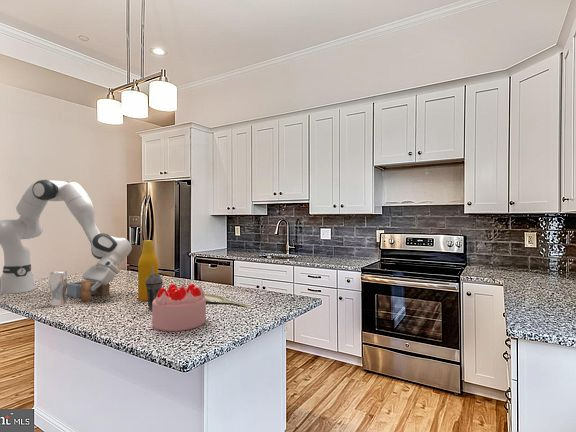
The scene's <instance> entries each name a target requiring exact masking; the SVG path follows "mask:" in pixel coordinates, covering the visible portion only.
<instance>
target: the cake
mask: <svg viewBox="0 0 576 432" xmlns="http://www.w3.org/2000/svg"><path fill="white" fill-rule="evenodd" d="M205 294H206V293H205V291H204V290H203V289H202V285H201V284H200V285H199V286H198V287H197V286H195V284H194V283H190V284H189V285H188V286H187V287H186V286H185V285H184V284H182V283H181V287H179V288H178V287H177V285H176V284H175V283H171V284H170V285H169V287H168V288H167V289H166V288H165V286H163V285H162V288H161V289H160V290H159V291H158V293H157V297H156V298H155V299H154V300H153V302H152V310H151V311H152V313H151V315H152V320H151V322H152V327H153V328H154V329H155V330H158V331H162V332H183V331H188V330H192V329H196V328H199V327H201V326H202V325H204V324H205V323H206V319H207V313H206V312H207V310H206V309H207V306H206V305H207V302H206V298H205V297H204V296H205Z"/></svg>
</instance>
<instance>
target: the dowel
mask: <svg viewBox="0 0 576 432" xmlns="http://www.w3.org/2000/svg"><path fill="white" fill-rule="evenodd" d="M80 282H81V297H80V303H88V302H89V303H90V302H91V301H92V298H91V297H92V295H91V290H90V288H91V280H84V279H83V280H81V281H80Z"/></svg>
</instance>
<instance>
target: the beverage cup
mask: <svg viewBox="0 0 576 432" xmlns="http://www.w3.org/2000/svg"><path fill="white" fill-rule="evenodd" d="M152 273H153V274H151V275H149V276H148V277H147V279H146V283H145V284H146V288H147V296H148V301H147V305H148V310H150V311H152V302H153V300H154V299H155V298H156V297H157V293H158V291H159V290H160V289H161V288H162V287H163V283H164V282H163V278H162V275H160V274H159V273H158V274H154V270H153V264H152Z"/></svg>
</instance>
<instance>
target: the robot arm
mask: <svg viewBox="0 0 576 432" xmlns="http://www.w3.org/2000/svg"><path fill="white" fill-rule="evenodd" d="M63 201H64V203H65V204H66V207H67V208H68V210H69V211H70V213H71V214H72V215H73V217H74V218H75V219H76V221H77V223H79V225H80V226H81V228H82V230H83V232H84V233H85V235H86V237H87V239H88V241H89V242H90V245H91V249H90V250H91V255H92V256H93V257H94V258H95V259H97V260H98V261H97V263H96V264H95V265H93V266H91V267H89V268H88V269H87V270H86V271H85V272H84V273H83V274H82V279H83V280H91V282H95V283H96V284H95V285H93V286H91V288H90V290H92V291H94V290H95V289H96V288H98V287H99V286H101V284H104V285H107V284H108V283H109V284H110V283H111V282H112V281H113V279H114V278H115V277H116V275H118V274H119V273H120V272H121V270H120V269H119V266H120V264H121V263H122V262H124V261H125V260H126V258H127V257H128V256H129V255H130V253H131V251H132V250H133V247H132V246H133V245H132V243H131V242H130V241H129V240H128V239H127V238H125V237H115V236H112V235H110V234H108V233H104V232H102V233H101V231H100V230H99V227H98V226H97V224H96V219H95V217H96V216H95V208H94V207H95V206H94V205H93V204H94V203H93V202H92V199H91V197H90V196H89V194H88V193H87V191H86V190H85V189H84V188H83V186H81V184H80V183H78V182H75V181H64V180H57V179H55V180H54V179H40V180H37V181H35V182H34V181H33V183H31V185H29V187H28V188H27V189H26V190H25V192H24V193H23V195H22V196H21V198H20V199H19V202H18V203H17V205H16V207H15V208H16V209H15V210H16V212H17V214H18V215H19V218H17V219H1V220H0V247H1V248H2V250H3V259H4V262H3V263H4V265H3V267H2V274H1V276H0V295H4V294H5V295H8V294H9V295H10V294H11V295H12V294H19V293H20V294H21V293H27V292H30V291H34V290H37V289H39V286H37V285H36V281H35V274H34V273H33V272H32V264H31V251H30V249H29V248H28V247H25V246H24V245H23V243H22V240H29V239H30V240H31V239H34V238H38V237H40V236H41V235H42V233H43V231H44V230H43V229H44V228H43V225H42V223H41V222H40V217H41V214H42V213H43V211H44V208H46V206H47V205H48V202H63ZM80 287H81V286H80Z"/></svg>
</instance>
